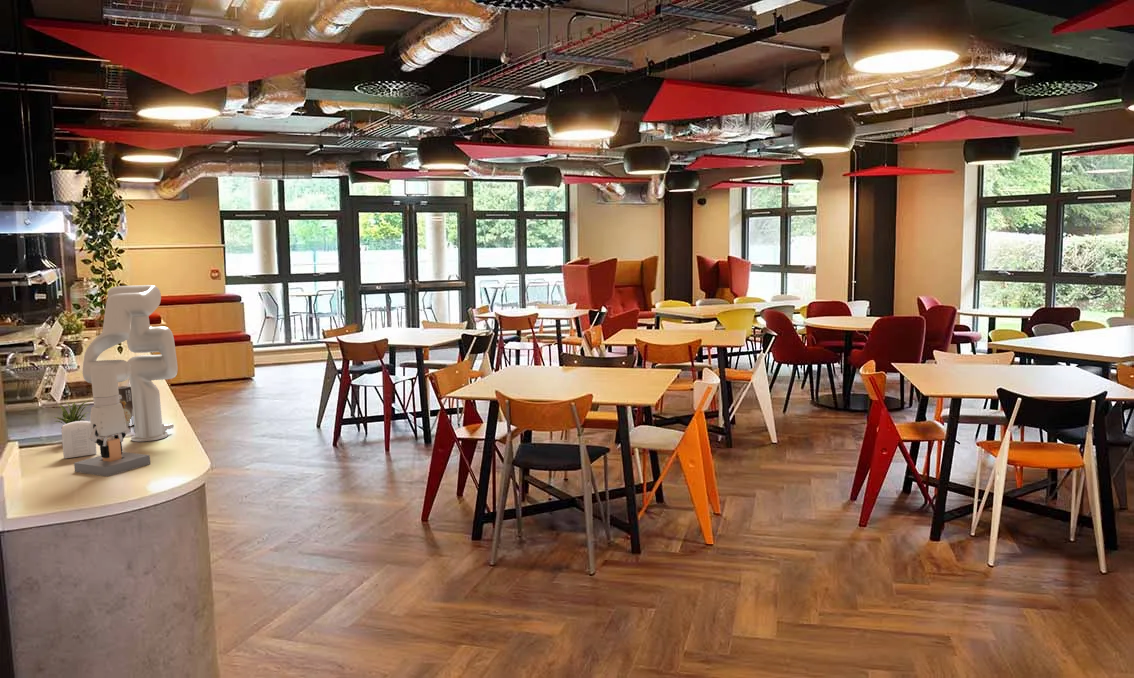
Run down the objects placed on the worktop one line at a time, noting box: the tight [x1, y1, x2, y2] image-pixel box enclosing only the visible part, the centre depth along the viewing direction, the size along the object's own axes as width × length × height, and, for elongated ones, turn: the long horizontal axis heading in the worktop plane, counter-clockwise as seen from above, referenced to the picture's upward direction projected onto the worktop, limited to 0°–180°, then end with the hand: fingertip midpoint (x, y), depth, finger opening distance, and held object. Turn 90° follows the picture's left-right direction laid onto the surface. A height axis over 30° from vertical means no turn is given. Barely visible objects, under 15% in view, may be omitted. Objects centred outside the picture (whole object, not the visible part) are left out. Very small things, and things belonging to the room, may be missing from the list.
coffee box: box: [118, 385, 134, 428], centre depth 359 cm, size 9×6×16 cm
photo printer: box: [60, 420, 98, 459], centre depth 312 cm, size 10×4×12 cm, turn 123°
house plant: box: [51, 400, 90, 430], centre depth 334 cm, size 14×14×16 cm
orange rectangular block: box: [102, 437, 122, 462], centre depth 293 cm, size 4×4×7 cm
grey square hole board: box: [73, 451, 151, 477], centre depth 294 cm, size 16×16×3 cm
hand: (111, 455), depth 293 cm, fingers closed on orange rectangular block, 4 cm apart
